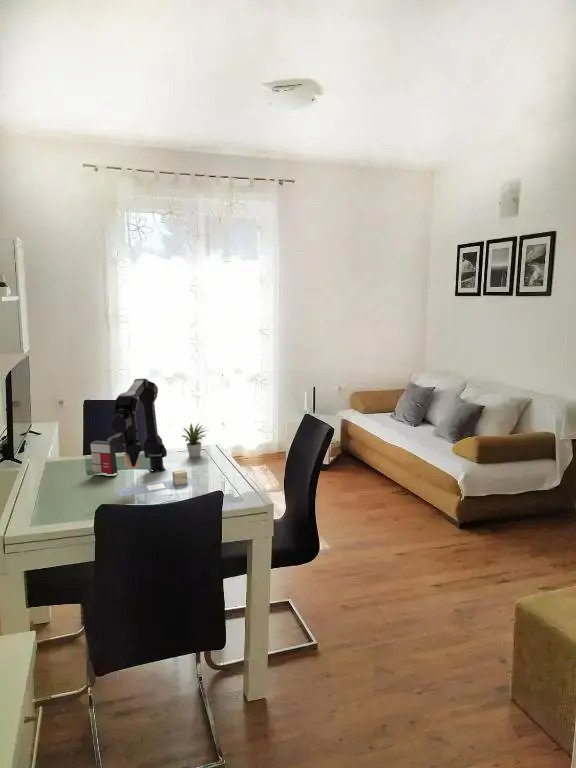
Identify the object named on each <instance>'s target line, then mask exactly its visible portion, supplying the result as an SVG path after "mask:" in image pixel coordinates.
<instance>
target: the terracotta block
mask: <svg viewBox="0 0 576 768" xmlns="http://www.w3.org/2000/svg"><path fill="white" fill-rule="evenodd" d="M123 455H124V462H125V463H124V465H125V468H126V470H131V469H132V470H133V469H139V468H140V467H141V463H140V455H139V456H138V459H137V462H136V465H135V466H133V467H132V464H131V461H130V458H129V455H128V454H127V453H124V454H123Z"/></svg>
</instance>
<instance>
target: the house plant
mask: <svg viewBox="0 0 576 768" xmlns="http://www.w3.org/2000/svg"><path fill="white" fill-rule="evenodd" d="M203 425H204V424H202V425H200V426H199V423H197V425H196V426H195V428H194V427H193V424H192V423H190V425H189V427H183V431H184V432H185V433H186V434H187V436H186V435H181V437H182V438H185V442H186V448H187V452H188V455H189V458H192V457H193V458H194V457H195V458H199V457H200V456H201V451H202V442H200V440H201V441H203V438H205V437H206V438H208V437H207V434H203V433H205V432H207V431H209V429H208V430H206V428H207V426H206V427H203ZM186 428H188V429H186ZM204 429H205V430H204ZM202 434H203V435H202Z"/></svg>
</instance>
